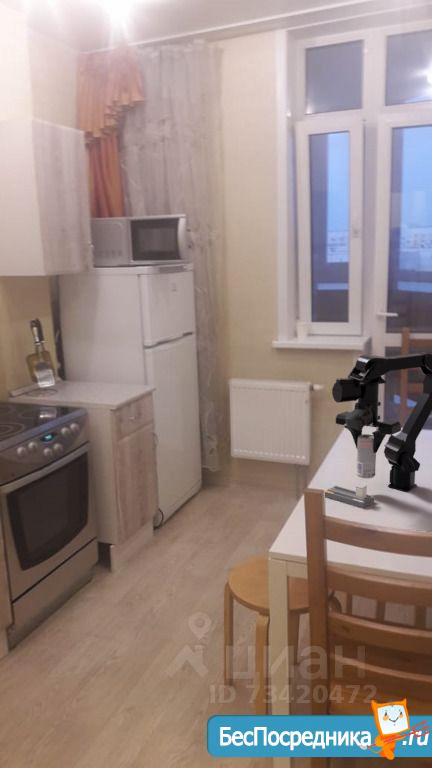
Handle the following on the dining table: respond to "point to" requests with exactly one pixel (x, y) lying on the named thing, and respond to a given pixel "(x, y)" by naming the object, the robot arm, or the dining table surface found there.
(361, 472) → the energy drink
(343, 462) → the dining table surface
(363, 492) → the switch knob
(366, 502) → the switch plate
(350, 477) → the dining table surface
